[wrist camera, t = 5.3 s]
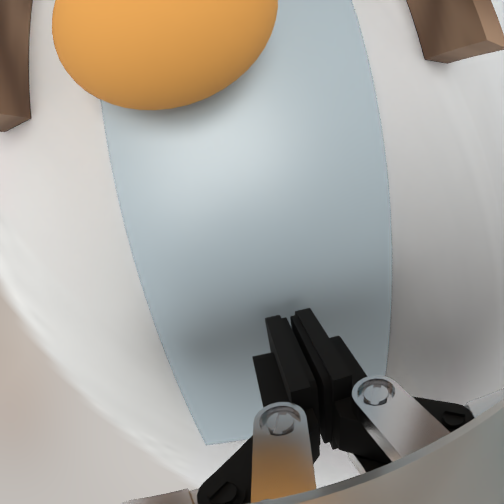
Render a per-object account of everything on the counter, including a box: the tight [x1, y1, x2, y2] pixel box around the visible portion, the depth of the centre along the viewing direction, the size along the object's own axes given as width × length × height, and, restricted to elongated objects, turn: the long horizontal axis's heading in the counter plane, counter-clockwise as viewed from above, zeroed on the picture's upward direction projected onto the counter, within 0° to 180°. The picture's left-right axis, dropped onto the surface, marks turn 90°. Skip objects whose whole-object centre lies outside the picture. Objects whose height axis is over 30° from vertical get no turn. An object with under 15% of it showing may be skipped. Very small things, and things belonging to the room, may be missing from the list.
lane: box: [101, 0, 392, 445], centre depth 9 cm, size 36×10×1 cm, turn 10°
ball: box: [52, 0, 278, 110], centre depth 6 cm, size 6×6×6 cm
